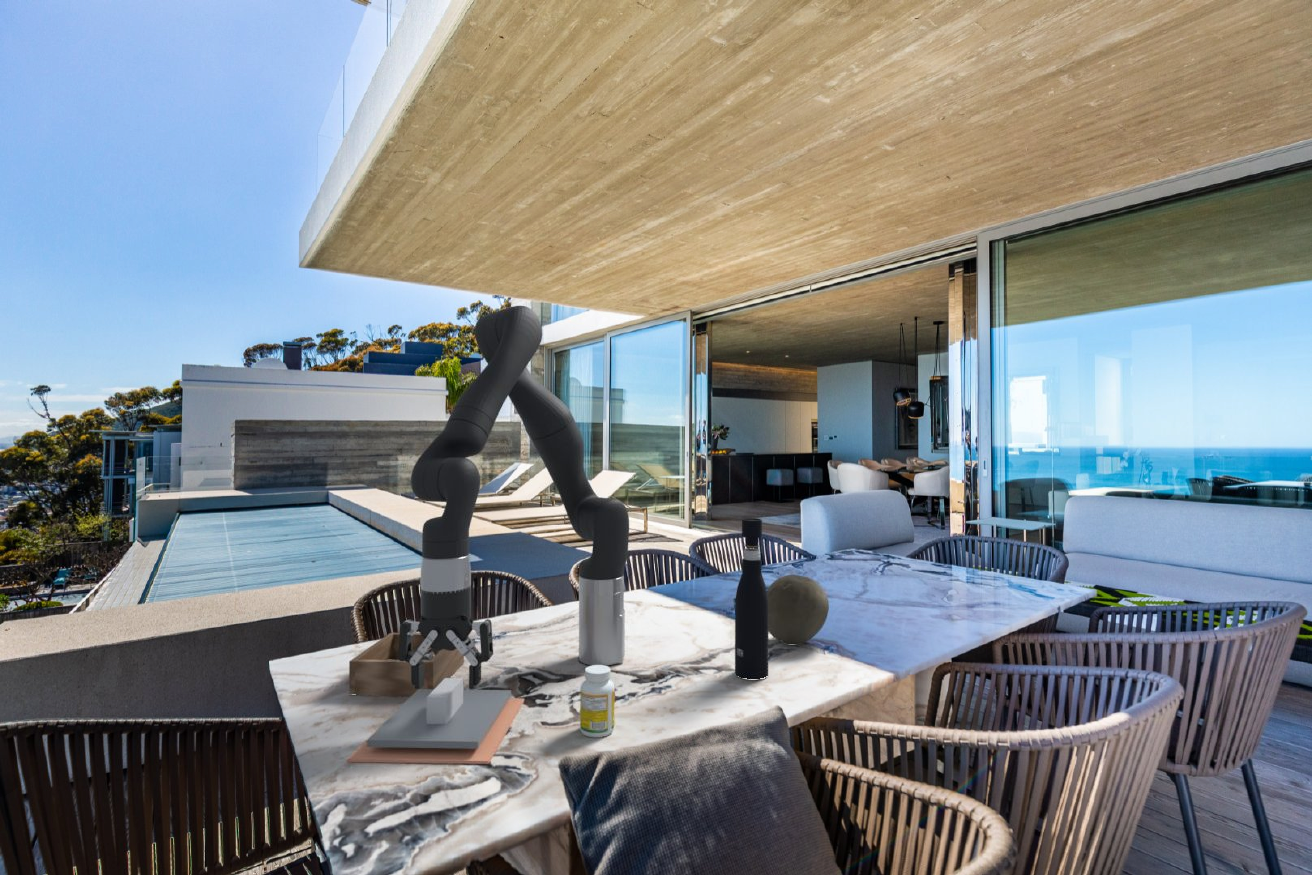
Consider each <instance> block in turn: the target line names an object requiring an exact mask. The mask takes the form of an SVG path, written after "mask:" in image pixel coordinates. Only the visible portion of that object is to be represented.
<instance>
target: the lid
mask: <svg viewBox="0 0 1312 875" xmlns="http://www.w3.org/2000/svg"><path fill="white" fill-rule="evenodd" d="M511 697H512V690H509V689H507V690H506V689H505V690H504V689H503V690H502V689H464V678H463V677H462V678H461V677H459V678H458V677H451V678H445V679H444V680H443V681H442V682H441V683H440V684H439V685H438V686H437V687H436V688H435V689H418V690H417V691H416V692H415V693H414V694H413V695H412V696H409V698H407V699H406V700H405V701H404V703H402V704H401V706H400V707H399V708H398V709H396V711H395V712H393V714H392V715H391V716H389V717H388V718H387V720H385V721H384V722H383V723H382V724H381V725H380V726H381V727H380V726H379V727H380V728H379V727H378V728H379V729H378V728H377V729H378V730H377V729H376V730H377V731H376V730H375V731H376V732H375V733H374V732H373V733H374V734H373V733H372V734H373V735H372V734H371V735H372V736H371V735H370V736H371V737H370V736H369V737H370V738H369V737H368V738H369V739H368V738H367V739H368V740H367V739H366V740H367V747H397V748H462V749H478V748H479V746H480V745H481V743H482V742H483V740H484V738H485V737H486V735H487V734H488V732H489V731H490V729H491V727H492V726H493V724H494V723H495V721H496V719H497V718H498V716H499V715H500V713H501V711H502V710H503V708H504V707H505V705H506V703H507V702H508V700H509V699H510V698H511Z"/></svg>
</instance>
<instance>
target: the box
mask: <svg viewBox="0 0 1312 875" xmlns="http://www.w3.org/2000/svg"><path fill="white" fill-rule="evenodd" d="M399 634H400V632H390V633H388V634H386V636H383V637H382V638H381V639H379V640H378V641H377V642H375V643H374V644H372V645H371V646H370V647H368V648H367V649H365V650H364V651H362V652H361V653H359V654H358V655H357V656H355V657H353V658H352V659H351V660H349V663H348V665H349V667H348V669H349V670H348V671H349V673H348V674H349V676H348V679H349V680H348V684H349V685H348V686H349V687H348V691H349V692H348V693H349V694H356V695H355V696H368V695H372V696H373V695H374V696H379V697H380V696H381V697H382V696H383V697H411V696H412V695H413V694H414V693H415V692H416V691H417V690H418V689H415V685H412V683H411V665H410V663H408V662H406V661H399V659H398V652H399ZM424 640H425V639H424V638H423V636H422V635H421V633H420V632H416V633H415V634H414V635H413V642H412V652H415V653H416V651H417V649H418V648H419V647H420V645H421V644H422V643H423V641H424ZM430 652H433V653H434V654H435V656H434V657H433V658H432V659H431V660H422V661H424V685H423V686H422V687H421V689H435V688H436V687H437V686H438V685H439V684H440V683H441V682H442V681H443V680H444V679H445V678H452V677H453V675H455V674H456V672H458V670H459V669H460V668H461V667H462V666H463V665H464V664H465V656H463V655H462V654H461V653H460V652H459V651H458V649H455V650H454V651H449V650H445V649H443V650H439V651H434V649H432V648H430V650H429V651H428V652H427V653H426V654H428V653H430ZM389 659H391V660H389ZM463 663H464V664H463ZM451 676H452V677H451ZM349 694H348V695H349ZM374 696H373V697H374Z"/></svg>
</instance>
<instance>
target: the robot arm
mask: <svg viewBox="0 0 1312 875" xmlns="http://www.w3.org/2000/svg"><path fill="white" fill-rule="evenodd" d="M474 338H475V340H476V341H475V342H476V344H477V347H478V349H479V352H480V353H481V355H482V357H483V359H484V360H485V363H487V365H486V366H485V367H484V369H482V370H481V372H480V373H479V374H478V376H477V377H476V378H475V379H473V381H472V382H471V383H470V384H469V385H468V386H467V387H466V388H465V390H464V391H463V393H462V394H461V395H460V396H459V398H458V400H457V401H456V404H455V405H454V407H453V409H452V411H451V414H450V416H449V417H448V420H447V422H446V423H445V425H444V428H443V430H442V431H441V432H440V434H438V435H437V437H435V439H434V440H433V441H432V442H431V443H430V444H429V446H427V448H425V450H424V451H423V452H422V453H421V455H420V456H419V457H418V459H417V460H416V462H415V463H414V466H413V467H412V472H411V475H410V486H411V489H412V492H413V494H414V495H415V497H417V498H418V500H419V499H420V500H422V501H425V502H435V503H446V504H445V507H444V510H443V512H442V515H441V516H436V517H432V518H429V519H427V520H426V521H424V523H423V526H422V534H421V535H422V536H421V537H422V538H421V540H422V541H421V542H422V543H421V546H422V547H421V548H422V550H421V551H422V552H421V554H422V558H421V567H420V578H419V585H420V621H414V620H413V619H411V618H409V619H407V620H405V621H403V622H402V623H401V624H400V626H399V633H400V634H399V652H398V659H399V661H406V662H408V663H410V665H411V683H412V685H415V689H421V687H422V686H423V685H424V661H422V659H423V657H424V656H425V655H426V653H427V652H428V651H429V650H430V648H432V649H434V651H439V650H443V649H445V650H449V651H454V650H455V649H458V651H459V652H460V653H461V654H462V655H463V656H464V658H465V659H466V660H467V662H468V663H469V665H468V690H476V687H478V685H479V684H480V682H481V681H482V663H484V662H485V663H486V662H488V661H489V660H490V659H491V657H492V656H493V655H494V644H493V642H494V640H493V629H492V628H493V627H492V626H493V625H492V621H491V619H489V618H487V619H484V620H483V621H475V622H474V620H473V619H472V570H471V569H472V568H471V562H470V561H471V560H470V526H471V523H472V519H473V515H474V511H475V507H476V504H477V501H478V500H477V499H478V498H479V493H480V488H481V476H480V471H479V469H478V467H477V465H476V463H474V462H473V460H471V459H469V458H470V457H474V456H476V455H478V454H480V453H481V452H482V451H483V450H484V448H485V447H486V444H487V442H488V439H489V437H490V434H491V432H492V430H493V427H494V425H495V422H496V420H497V418H498V416H499V413H500V412H501V409H503V408H502V407H503V406H504V403H505V402H506V400H507V398H509V400H510V401H511V403H512V404H513V406H514V409H515V411H516V413H517V414H518V416H519V417H520V419H521V421H522V424H523V425H524V427H525V429H526V432H527V434H528V435H529V438H530V439H531V440H530V441H531V442H532V444H533V445H534V448H535V450H536V451H537V453H538V455H539V457H540V459H541V460H542V462H543V464H544V466H545V468H546V469H547V472H548V474H549V476H550V478H551V480H552V481H553V483H554V485H555V487H556V490H557V491H558V494H559V496H560V499H561V501H562V504H563V507H564V510H565V513H566V515H567V518H568V520H569V522H570V525H571V527H572V529H573V531H574V532H575V534H577V536H579V537H580V538H581V539H583V540H586V541H589V542H592V551H591V555H590V557H588V558H585V559H583V560H582V561H580V563H579V565H578V661H580V662H581V663H582V664H583V665H584V664H586V665H589V666H592V665H604V666H610V665H611V666H612V665H616V664H623V662H624V658H625V652H626V650H625V646H626V645H625V644H626V642H625V637H626V636H625V632H626V630H625V626H626V625H625V622H626V621H625V620H626V619H625V617H626V613H625V612H626V611H625V607H624V606H625V604H624V602H625V600H624V599H625V596H624V590H625V587H624V586H625V582H624V581H625V576H624V575H625V568H626V564H627V562H628V555H629V536H630V517H629V512H628V509H627V506H626V505H625V503H623V502H622V501H621V500H619V499H616V498H608V497H599V496H598V495H597V494H596V492H595V491H594V489H593V488H592V486H591V483H590V482H589V479H588V477H587V474H586V472H585V468H584V467H585V465H584V463H585V462H584V461H585V460H584V459H585V444H584V438H583V436H582V433H581V430H580V428H579V426H578V424H577V422H576V420H575V419H574V416H573V414H572V412H571V411H570V408H569V407H568V406H567V405H566V404H565V403H564V402H563V401H562V400H561V399H560V398H558V397H557V396H556V395H555V394H554V393H552V392H551V391H550V390H548V389H547V388H546V387H545V386H543V385H542V384H541V383H540V382H539V381H538V380H537V379H536V378H534V376H533V375H532V374H531V372H530V371H529V369H528V368H527V367H528V364H529V363H530V361H532V358H534V356H535V354H536V352H537V351H538V349H539V348H540V346H541V342H542V339H543V327H542V323H541V320H540V318H539V316H538V315H537V314H536V312H535V311H534V310H532V309H531V308H530V307H528V306H524V305H514V306H510V307H506V308H503V309H500V310H497V311H495V312H494V311H493V312H492V313H488V314H486V315H485V314H484V316H481V317H480V318H479V319H478V320H477V322H476V323H475V327H474ZM417 630H418V633H421V635H422V636H423V638H424V639H425V640H424V641H423V643H422V644H421V645H420V647H419V648H418V649H417V651H416V653H415V652H412V642H413V635H414V634H415V633H417ZM472 631H475V634H476V636H477V637H479V640H480V651H479V649H478V648H477V647H476V644H475V642H474V641H473V639H472V638H471V636H470V634H471V633H472Z"/></svg>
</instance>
